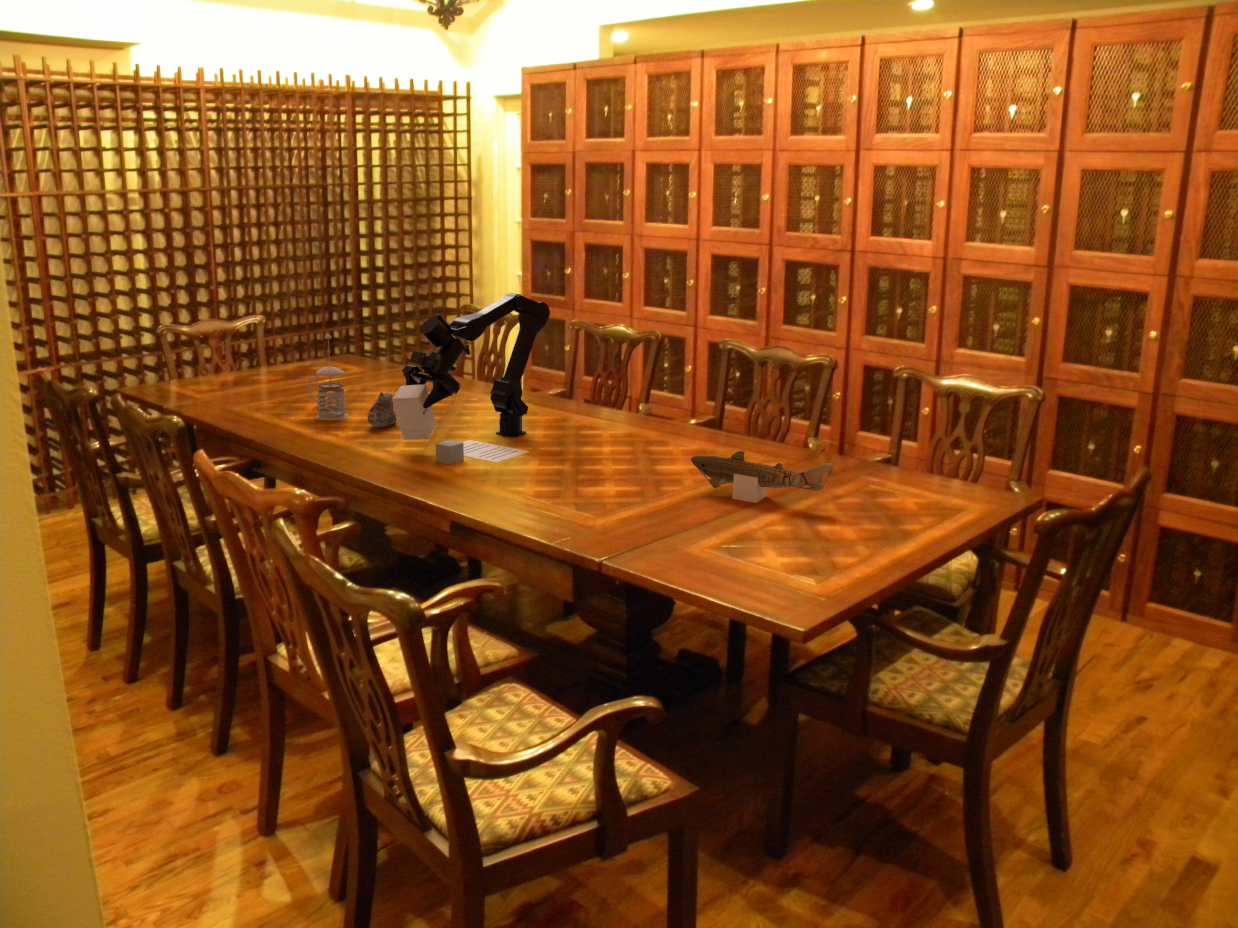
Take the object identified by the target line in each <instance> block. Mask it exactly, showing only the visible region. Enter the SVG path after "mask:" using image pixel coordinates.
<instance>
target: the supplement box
mask: <svg viewBox="0 0 1238 928" xmlns="http://www.w3.org/2000/svg"><path fill="white" fill-rule="evenodd" d="M405 385H406V384H405ZM405 385H401V386H400V387H399V388H398V390H397V391H396V393H395V394H394V395H393V396H392V402H393V409H394V412H395V415H396V418H397V422H398V424H399V425H398V426H399V428H400V433H401V435H402V438H403V439H402V440H403V441H407V440H408V441H409V440H412V441H413V440H415V441H416V440H429V439H430V437H431V436H432V434H433V432H434V430H435V428H436V427H437V425H438V424H437V419H436V416H435V412H434V408H433V405H432V406H430V407H428V408H426V409H425V408H424V407H423V405H424V402H425V401H426V399H427V397H428V395H429V394H430V393H429V391H428V390H429V389H428V387H427V384H426V383H425V384H424V385H406V386H405Z"/></svg>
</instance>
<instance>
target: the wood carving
mask: <svg viewBox="0 0 1238 928" xmlns="http://www.w3.org/2000/svg"><path fill="white" fill-rule="evenodd" d="M745 453H746V452H745V451H743V450H737V451H736V452H734V453H732V455H730V457H724V456H717V455H693V456H691V458H690V461H691V463H692V465H693V466H695V468H696V469H697V470H698V471H699V472H700V474H702V476H703V477H704V479H706V481H708V482H709V484H710V485H711V486H712V488H713V489H717V488H722V487H723V486H724V485H727V484H733V485H732V487H733V488H732V497H731V498H732V500H738V501H742V502H744V501H745V502H748V503H758V502H760V501H762V500H763V499H765V498H766V497H767V488H774V489H776V488H777V489H780V488H783V489H784V488H785V489H786V488H796V489H801V490H810V491H816V492H817V491H819V492H820V491H822V490H823V489H824V486H825V485H826V484H827V481H828V480H829V478H830V476H831V474H832V472H833V469H834V464H833V463H832V462H828V463H827V462H826V463H824V464H820V465H818V466H815V467H812V468H809V469H808V470H806V471H805V470H804V471H800V470H795V469H794V470H793V469H789V468H783V464H782V463H781V462H780V463H779V462H778V463H776V464H775V465H769V464H762V463H759V462H758V463H757V462H751V461H747V460H746V461H745V457H744V456H745ZM826 473H827V478H826V479H825V481H824V482H823V477H824V476H825V474H826ZM709 478H710V479H709ZM804 486H807V487H804Z"/></svg>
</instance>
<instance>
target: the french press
mask: <svg viewBox="0 0 1238 928" xmlns="http://www.w3.org/2000/svg"><path fill="white" fill-rule="evenodd" d="M324 339H327V349H328V352H330V342H329V340H331V339H332V335H331V334H325V335H324ZM330 357H331V356H330V355H328V366H324V367H322V368H320V369H318V370H317V371H315V374H316V375H315V376H313V377H312V378H310V379H309V381H308V383H307V393H308V395H309V396H310V398H311V399H313V400H314V401H315V402H317V411H318V412H317V413H318V414H316V415H315V419H316V420H320V421H339V420H340V421H341V420H346V419H347V418H349V414H348V413H346V403H345V402H346V401H345V399H346V398H345V389H343V388H342V387H343V386H344V384H343V383H339V382H332V381H331V380H332V379H331V378H332V377H333V376H340V375H341V376H342V375H343V374H344V372H345V371H344V370H343V369H341V368H339V367H336V366H331V363H330V362H331V360H330ZM319 376H328V377H329V382H327V383H325V382H324V383H320V384H318V385H317V386H318V388H319V389H318V390H317V397H315V396H314V394H313V392H312V389H311V383H312V381H313V380H314V379H316V382H319V380H320V378H319Z"/></svg>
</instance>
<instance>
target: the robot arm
mask: <svg viewBox="0 0 1238 928" xmlns="http://www.w3.org/2000/svg"><path fill="white" fill-rule="evenodd" d="M512 312H516V313H518V317H517V319H518V324H519V325H518V326H519V331H518V334H517V337H516V339H515V342H514V346H513V348H512V352H511V354H510V357H509V360H508V363H507V367H506V369H505V372H504V375H503V376H502V377H501V378H500V379H494V381H493V384H492V388H491V390H490V391H489V393H490V401H491V404H492V405H493V408H494V411H495V412H496V413H500V414H499V420H498V421H499V431H496V432H495V435H499V436H503V437H510V438H515V437H519V436H521V435H526V434H527V431H526V430H523V416H526V415H527V414H528V411H529V406H528V405H527V403H526V402H524V401H523V399H522V396H523V387H522V379H523V376H524V373H525V370H526V368H527V367H526V366H527V364H528V361H529V358H530V355H531V353H532V350H533V346H534V343H535V340H536V337H537V335H538V333H539V332H540V331H542V330H543V328H544V327H545V326H546V324H547V323H548V320H549V318H550V315H551V309H550V308H549V306H548V304H547V303H546V302H545V301H544V302H543V301H538V300H536V301H535V300H533V299H531V298H528V297H527V296H523V294H519V293H516V292H515V293H513V292H509V293H507V294H505V295H504V296H503V297H501V298H500V299H498V300H496V301H495V302H493V303H491V304H489V305H488V306H486V307H484V308H482V309H481V310H480V311H477V312H474V313H471V314H470V313H469V314H465V315H462V316H459V317H456V318H454V319H453V320H452V321H451V322H450V323H447V322H446V321H445V319H444V318H443V317H442V315H441V314H437V313H435V314H433V316H432V317H430V318H428V319H426V320H425V321H423V322H422V324H421V325H420V328H419V332H420V334H422V336H423V337H424V338H426V339H427V341H428V342H429V343H430V344H431V345H432V346H433V347H434V348H438V347H439V348H438V350H437V351H435V352H434V351H432V350H428V351H427V352H422V351H419V350H414V349H413V350H412V353H411V355H410V358H409V362H410V363H412V364H416V365H412V364H406V365H404V367H403V369H402V370H401V371H402V374H403V376H404V378H405V384H404V386H406V385H425V384H426V383H427V382H428V383H432V388H431V390H430V392H429V393H428V394H429V395H428V397H427V399H426V401H425V402H424V405H423V407H424V408H425V409H426V408H428V407H430V406H432V407H433V405H435V404H437V403H439V402H441V401H442V400H444V399H447V398H448V397H453V396H454V395H458V393H459V391H460V390H461V383H460V382H459V381H458V380H457V379H456V378H455V377H454V376H453V375H452V374H451V373H450V372H455V370H456V367H455V365H456V363H457V362H458V360H459V359H460V357H462V356H461V355H468V356H470V355H471V350H470V345H469V344H467V343H464V342H463V341H467V342H468V341H469V342H474V341H477V340H478V338H480V337H481V336H482V335H483V334H484V333H485V331H486V329H487V328H489V326H491V325H492V324H494V323H496V322H497V321H499V320H500V319H503V318H504V317H506V316H508V315H509V314H511V313H512ZM462 340H463V341H462ZM418 365H419V366H418Z"/></svg>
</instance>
